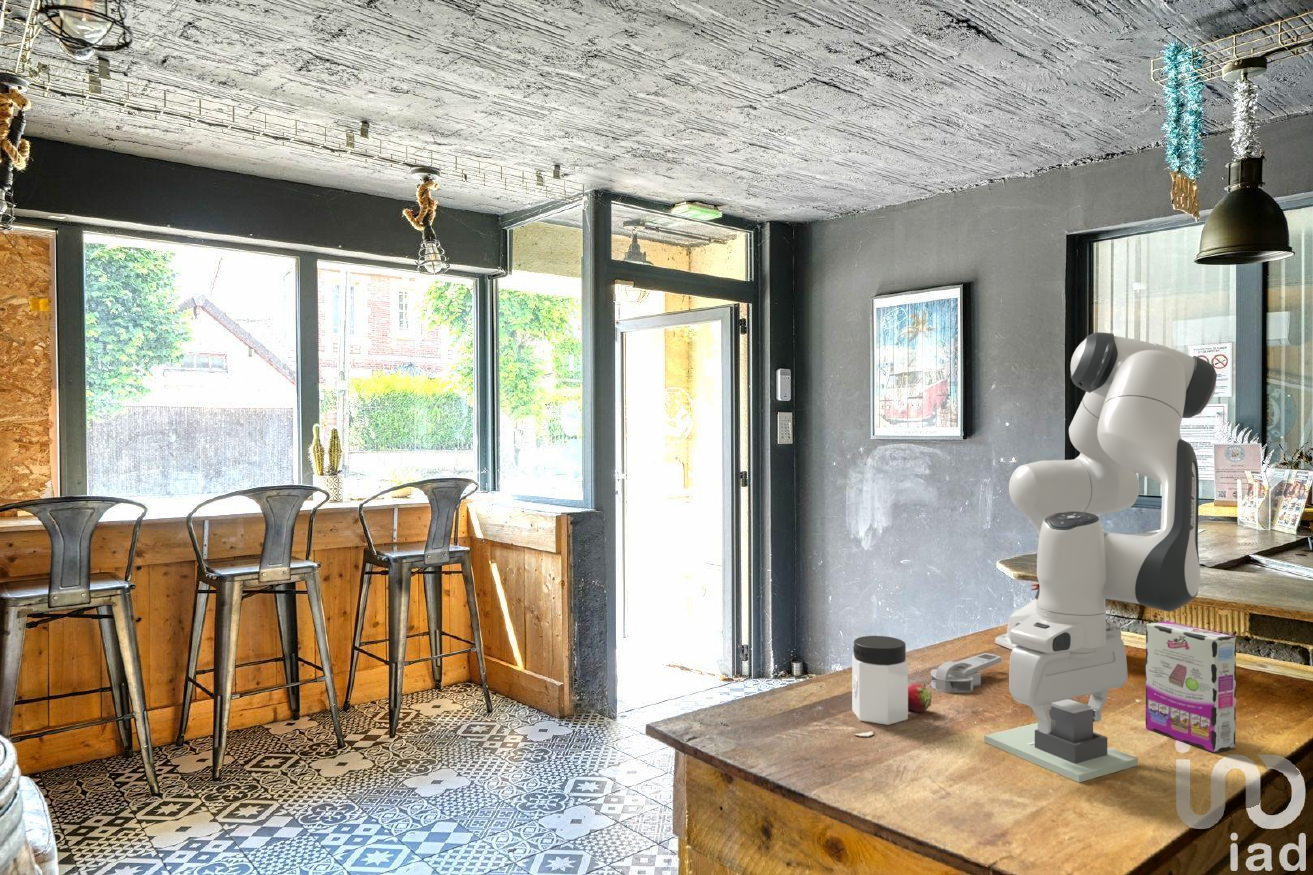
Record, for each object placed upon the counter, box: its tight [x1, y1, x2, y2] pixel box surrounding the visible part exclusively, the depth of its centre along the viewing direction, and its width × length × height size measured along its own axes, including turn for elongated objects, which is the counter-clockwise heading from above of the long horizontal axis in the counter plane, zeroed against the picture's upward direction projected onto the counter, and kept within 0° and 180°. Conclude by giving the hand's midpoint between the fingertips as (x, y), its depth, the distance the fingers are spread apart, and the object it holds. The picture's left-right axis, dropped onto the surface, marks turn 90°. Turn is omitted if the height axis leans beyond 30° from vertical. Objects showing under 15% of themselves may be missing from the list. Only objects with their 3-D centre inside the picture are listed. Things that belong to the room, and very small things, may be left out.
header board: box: [983, 722, 1139, 783], centre depth 125 cm, size 16×12×4 cm
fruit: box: [908, 682, 933, 713], centre depth 144 cm, size 4×6×5 cm
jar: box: [851, 635, 909, 726], centre depth 141 cm, size 9×8×12 cm
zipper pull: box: [930, 652, 1002, 694], centre depth 159 cm, size 8×18×4 cm, turn 129°
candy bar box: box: [1145, 620, 1237, 753], centre depth 130 cm, size 11×5×16 cm, turn 23°
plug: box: [1048, 698, 1094, 743], centre depth 123 cm, size 4×4×6 cm
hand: (1070, 726), depth 123 cm, fingers open, 8 cm apart
